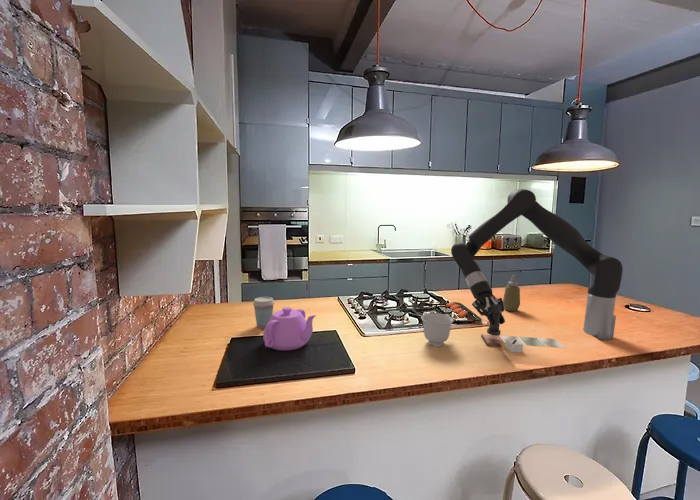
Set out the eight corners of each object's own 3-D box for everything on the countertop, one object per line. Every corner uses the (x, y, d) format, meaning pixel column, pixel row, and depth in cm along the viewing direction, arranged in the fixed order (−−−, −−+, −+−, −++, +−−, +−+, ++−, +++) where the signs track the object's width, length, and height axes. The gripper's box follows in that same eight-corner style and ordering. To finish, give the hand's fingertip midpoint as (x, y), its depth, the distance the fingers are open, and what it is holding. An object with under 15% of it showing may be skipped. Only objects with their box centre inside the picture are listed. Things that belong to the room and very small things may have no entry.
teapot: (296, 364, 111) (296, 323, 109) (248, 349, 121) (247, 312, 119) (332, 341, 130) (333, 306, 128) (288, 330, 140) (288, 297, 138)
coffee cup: (278, 326, 143) (278, 299, 142) (260, 332, 137) (260, 303, 136) (267, 321, 149) (266, 295, 148) (249, 326, 143) (249, 299, 141)
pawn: (498, 331, 133) (500, 302, 132) (502, 335, 129) (504, 306, 127) (485, 330, 134) (487, 302, 132) (488, 335, 129) (491, 305, 128)
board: (555, 341, 133) (555, 338, 133) (566, 351, 124) (567, 348, 124) (481, 336, 137) (481, 333, 136) (487, 346, 128) (487, 342, 128)
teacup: (461, 341, 132) (463, 316, 130) (441, 353, 121) (443, 326, 120) (434, 332, 140) (435, 309, 139) (413, 342, 129) (414, 317, 128)
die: (515, 350, 125) (516, 338, 124) (522, 354, 121) (523, 343, 120) (505, 350, 124) (506, 339, 123) (511, 355, 120) (512, 343, 119)
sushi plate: (484, 325, 152) (484, 316, 151) (417, 325, 150) (418, 316, 149) (459, 305, 180) (460, 298, 180) (403, 305, 179) (404, 298, 178)
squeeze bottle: (503, 306, 178) (506, 272, 176) (520, 309, 173) (524, 275, 171) (500, 310, 172) (503, 275, 169) (517, 313, 167) (521, 277, 164)
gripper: (469, 281, 133) (489, 321, 123) (497, 279, 138) (519, 317, 128) (459, 291, 139) (478, 330, 129) (487, 288, 144) (507, 326, 134)
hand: (498, 323), depth 129 cm, fingers closed on pawn, 3 cm apart
